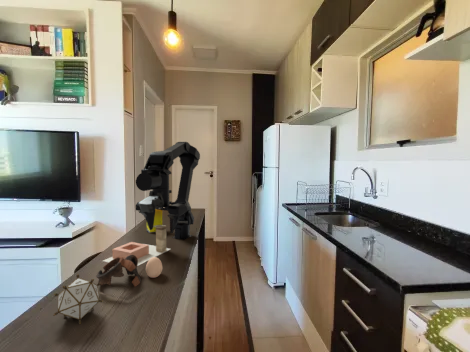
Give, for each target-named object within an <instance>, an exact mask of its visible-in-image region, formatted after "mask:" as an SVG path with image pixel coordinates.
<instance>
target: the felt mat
mask: <svg viewBox="0 0 470 352" xmlns="http://www.w3.org/2000/svg"><path fill="white" fill-rule="evenodd" d="M145 244H146V243H145ZM146 245H149V254H147V255H145V256H143V257H141V258H138V265H137V267H139V266H140V265H142V264H144V263H146V262H148V261H149V260H150V259H151V258H153V257H158V256H160V255H162V254H164V253H167V252H168V251H170V250H171V248H168V247H166V251H164V252H157V251H156V245H153V244H152V245H151V244H146ZM113 259H115V258H113V256H110V257H108V258H106V259H104V260H102V262H105V263H107V264H108V263H109V262H110V261H112V260H113Z"/></svg>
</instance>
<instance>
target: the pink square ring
mask: <svg viewBox="0 0 470 352" xmlns="http://www.w3.org/2000/svg"><path fill="white" fill-rule="evenodd" d="M149 245H150V244H148V245H146V243H139V242H135V241H130V242H127V243H125V244H122V245H119V246H117V247H115V248H112V249H111V251H112V257H113V258H117V257H121V256H122V257H123V258H124V259H125V258H126V257H127V256H129V255H135V256H136V257H137V259H138V258H141V257H143V256H145V255H147V254H149Z"/></svg>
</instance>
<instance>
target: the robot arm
mask: <svg viewBox="0 0 470 352" xmlns="http://www.w3.org/2000/svg"><path fill="white" fill-rule="evenodd" d="M178 158H179V162H180V165H181V167H182V168H181V173H180V179H179V185H178V190H177V197H176V199H175V201H171V200H170V194H172V189H170V175H172V172H171V170H170V168H171V167H172V166H173V165H174V163H175V162H174V160H176V159H178ZM200 159H201V154H200V152H199V150H198V149H197V147H194V146H193V145H191V144H190V143H189V142H187V141H177V142H175V144H173V145H171V146H169V147H168V148H166V149H163V150H158V151H152V152H151V153H149V156H148V158H147V161H146V163H145V166H144V167H143V169H141V171H140V173H139V174H138V175H137V177H136V179H135V185H136V187H137V189H138V190H140V191H143V192H146V191H149V195H148V196H147V197H145V198H144V199H142V200H141V201H138V202H137V203H136V204H135V211H138V214H139V213H140V214H141V215H143V217H144V218H145V221H146V225H147V224H148V226H149V229H150V230H152V229H153V225H154V218H155V209H157V210H162V211H167V213H168V214H167V217H168V219H169V231H170V234H173V233H174V236H172V237H171V238H172V239H176V240H183V241H184V240H187V239H188V238H191V237H194V236H193V234H191V231H190V230H191V228H190V226H191V225H194V224H195V223H194V222H195V216H194V215H193V213H192V207H191V206H192V205H190V202H189V198H190V194H191V187H192V180H193V174H194V170H195V168H196V167H197V166H198V165H199V160H200Z"/></svg>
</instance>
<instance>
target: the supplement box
mask: <svg viewBox="0 0 470 352" xmlns="http://www.w3.org/2000/svg"><path fill="white" fill-rule="evenodd" d="M158 225H163V210H157V209H155V218H154V225H153V229H152V230H150V229H149V226H148V224H147V223H146V232H147V233H149V234H152V233H156V226H158Z"/></svg>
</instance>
